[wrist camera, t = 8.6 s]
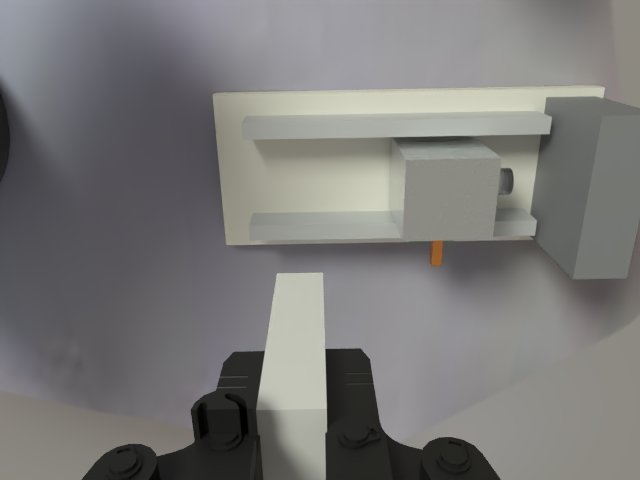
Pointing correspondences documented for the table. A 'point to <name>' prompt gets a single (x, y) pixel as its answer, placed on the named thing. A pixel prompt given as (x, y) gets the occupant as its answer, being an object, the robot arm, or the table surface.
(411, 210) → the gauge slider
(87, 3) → the table surface
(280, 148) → the base
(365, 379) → the robot arm
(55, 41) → the table surface
